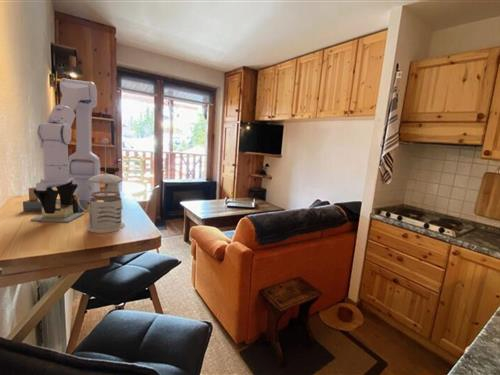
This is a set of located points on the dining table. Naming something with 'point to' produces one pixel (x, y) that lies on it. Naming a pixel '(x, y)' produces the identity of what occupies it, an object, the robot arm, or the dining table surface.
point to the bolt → (109, 170)
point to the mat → (68, 219)
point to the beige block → (59, 212)
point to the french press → (104, 204)
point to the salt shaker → (115, 188)
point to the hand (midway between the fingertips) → (58, 209)
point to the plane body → (36, 205)
